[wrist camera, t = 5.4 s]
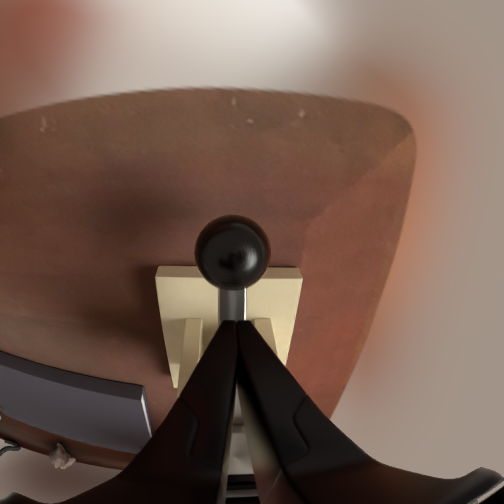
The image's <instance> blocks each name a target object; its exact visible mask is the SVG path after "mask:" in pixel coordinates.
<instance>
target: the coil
mask: <svg viewBox="0 0 504 504" xmlns="http://www.w3.org/2000/svg"><path fill="white" fill-rule="evenodd" d="M5 443H8V444H11V445H13V447H12V446H6V447H4V448H2V449H1V450H0V456H1V455H2V454H3V453H5V452H6V451H10V450H12V451H18V450H20V449H21V447H20V445H18V444H17V443H15V442H13V441H10V440H7V439H5ZM14 446H15V447H14Z"/></svg>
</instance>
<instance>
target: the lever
mask: <svg viewBox="0 0 504 504" xmlns="http://www.w3.org/2000/svg"><path fill="white" fill-rule="evenodd" d="M194 255H195V262H196V265H197V268H198V270H199V272H200V274H201V275H202V277H203V278H204V279H205V280H206V281H207V282H208V283H209V284H211V285H212V286H214V287H216V288H218V327H219V325H220V323H221V322H222V321H223V320H235V321H237V320H246V299H247V288H249V287H251V286H253V285H254V284H256V283H257V282H258V281H259V280H260V279H261V278H262V277H263V275H264V274H265V273H266V271H267V269H268V266H269V263H270V258H271V248H270V243H269V240H268V237H267V235H266V234H265V232H264V230H263V229H262V228H261V227H260V226H259V225H258V224H257V223H256V222H254V221H253V220H251V219H249V218H247V217H244V216H240V215H226V216H222V217H219V218H216V219H214V220H213V221H211V222H210V223H208V224H207V225H206V226H205V227H204V228H203V230H202V231H201V232H200V234H199V236H198V238H197V241H196V244H195V251H194ZM231 474H254V472H253V468H252V463H251V458H250V453H249V448H248V443H247V438H246V433H245V428H244V423H243V418H242V413H241V407H240V402H239V397H238V390H237V386H236V399H235V409H234V419H233V429H232V439H231V449H230V459H229V469H228V475H231Z"/></svg>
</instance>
